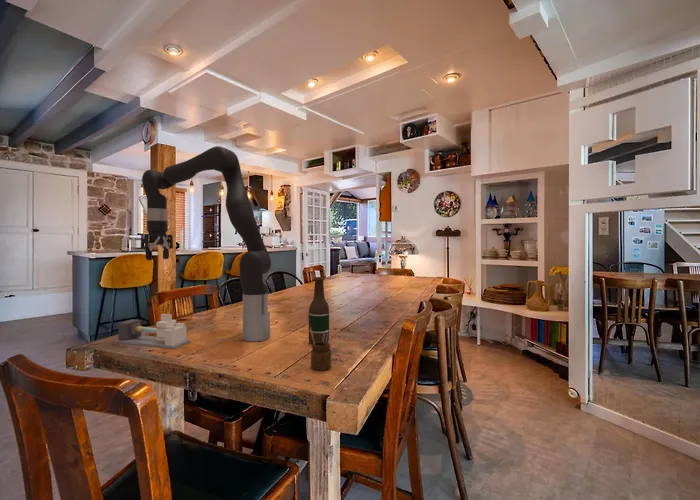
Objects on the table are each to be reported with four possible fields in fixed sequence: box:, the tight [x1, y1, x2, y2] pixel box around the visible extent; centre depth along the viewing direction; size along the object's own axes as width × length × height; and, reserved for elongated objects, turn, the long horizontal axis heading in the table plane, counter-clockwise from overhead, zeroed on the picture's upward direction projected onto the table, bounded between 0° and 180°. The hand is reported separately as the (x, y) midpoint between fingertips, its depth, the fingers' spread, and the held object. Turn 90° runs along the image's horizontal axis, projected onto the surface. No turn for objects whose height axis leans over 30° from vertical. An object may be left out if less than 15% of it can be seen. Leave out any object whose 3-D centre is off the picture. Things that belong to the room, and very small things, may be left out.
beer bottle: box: [308, 276, 330, 346], centre depth 127 cm, size 8×8×24 cm
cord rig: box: [114, 319, 191, 350], centre depth 126 cm, size 26×8×7 cm, turn 75°
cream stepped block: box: [155, 313, 177, 341], centre depth 124 cm, size 4×5×9 cm
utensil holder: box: [310, 327, 332, 371], centre depth 102 cm, size 6×6×12 cm
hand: (157, 259), depth 142 cm, fingers open, 8 cm apart
